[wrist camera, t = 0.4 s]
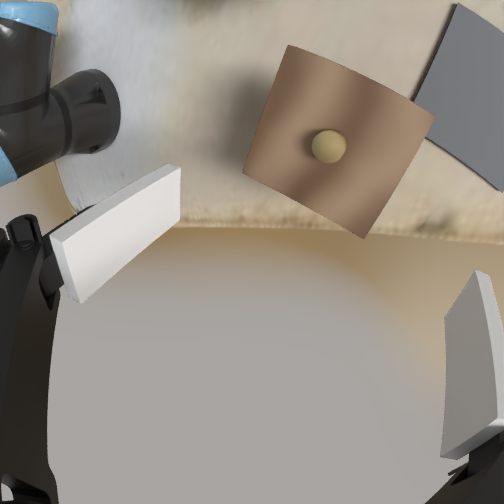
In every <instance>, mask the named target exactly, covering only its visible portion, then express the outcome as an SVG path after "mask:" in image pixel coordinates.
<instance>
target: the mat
mask: <svg viewBox="0 0 504 504" xmlns="http://www.w3.org/2000/svg"><path fill="white" fill-rule="evenodd" d="M414 103H416V104H417V105H419V106H421V107H422V108H424V109H425V110H427V111H429V112H430V113H432V114H433V115H434V116H435V119H434V121H433V123H432V125H431V127H430V129H429V130H428V132H427V134H426V136H425V137H427V138H428V139H430V140H432V141H433V142H435V143H436V144H438V145H439V146H441V147H442V148H444V149H445V150H447V151H448V152H449V153H451V154H452V155H454V156H455V157H457V158H458V159H459V160H461V161H462V162H464V163H465V164H466V165H468V166H469V167H470V168H472V169H473V170H474V171H476V172H477V173H478V174H480V175H481V176H482V177H483V178H485V179H486V180H487V181H488V182H490V183H491V184H492V185H493V186H495V187H496V188H497V189H498V190H499V191H501V192H502V193H503V191H504V33H503V32H502V31H500V30H499V29H498V28H496V27H495V26H493V25H492V24H491V23H489V22H488V21H486V20H485V19H483V18H482V17H480V16H479V15H477V14H476V13H474V12H473V11H471V10H469V9H468V8H466V7H465V6H463V5H461V4H460V3H458V4H457V6H456V8H455V11H454V13H453V16H452V18H451V21H450V23H449V26H448V28H447V30H446V33H445V35H444V37H443V40H442V42H441V44H440V46H439V49H438V51H437V53H436V55H435V58H434V60H433V62H432V64H431V66H430V68H429V71H428V73H427V75H426V77H425V79H424V81H423V83H422V85H421V88H420V90H419V92H418V94H417V96H416V98H415V100H414Z"/></svg>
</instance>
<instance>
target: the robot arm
mask: <svg viewBox="0 0 504 504" xmlns="http://www.w3.org/2000/svg"><path fill="white" fill-rule="evenodd" d="M58 16H59V11H58V8H57V6H56V5H54V4H52V3H47V2H33V1H16V2H15V1H14V2H0V187H1V186H3V185H5V184H8V183H10V182H13V181H16V180H17V179H18V178H20V177H21V176H24V175H26V174H27V173H29V172H31V171H33V170H35V169H37V168H39V167H41V166H43V165H45V164H47V163H49V162H51V161H54V160H56V159H58V158H60V157H62V156H64V155H74V154H92V153H96V152H99V151H101V150H103V149H105V148H107V147H109V146H110V145H111V144H112V142H113V141H114V139H115V137H116V135H117V133H118V129H119V125H120V103H119V98H118V95H117V92H116V89H115V87H114V85H113V83H112V81H111V80H110V79H109V77H108V76H107V75H106V74H104V73H103V72H101V71H99V70H96V69H89V70H84V71H80V72H77V73H75V74H73V75H72V76H70V77H68V78H67V79H65V80H64V81H62V82H61V83H59V84H58V85H56V86H54V87H53V88H51V89H50V80H51V69H52V60H53V53H54V46H55V40H56V36H57V23H58ZM180 174H181V167H177V166H174V165H170V164H166V165H164V166H162V167H160V168H158V169H156V170H154V171H153V172H151V173H149V174H147V175H145V176H143V177H142V178H140V179H138V180H136V181H135V182H133V183H131V184H129V185H128V186H126V187H124V188H122V189H121V190H119V191H117V192H116V193H114V194H112V195H110V196H109V197H107V198H106V199H104V200H102V201H101V202H99V203H97V204H95V205H92V206H89V207H87V208H85V209H83V210H82V211H80V212H79V213H77V215H76V214H75V215H74V216H72V217H71V218H70V219H69V220H66V221H65V222H64V223H62V224H60V225H59V226H57V227H56V228H54V229H53V230H51V231H50V232H48V233H47V234H45V235H44V236H43V237H42V235H41V231H40V227H39V224H38V220H37V218H36V216H34V215H32V214H25V215H21V216H19V217H16V218H14V219H13V220H11V221H10V222H9V223H8V225H6V229H7V232H8V235H9V238H10V240H8V238H7V235H6V232H5V230H4V229H2V228H0V504H59V502H58V493H57V485H56V481H55V478H54V475H53V473H52V471H51V469H50V467H49V464H48V455H47V409H48V389H49V375H50V364H51V354H52V346H53V339H54V331H55V325H56V318H57V312H58V307H59V301H60V291H59V288H60V287H61V286H62V285H65V288H66V291H67V294H68V296H69V297H71V298H72V299H74V300H75V301H77V302H78V303H80V304H82V303H83V302H84V301H85V300H86V299H87V298H89V297H90V296H91V295H92V294H93V293H94V292H95V291H96V290H97V289H98V288H100V287H101V286H102V285H103V284H104V283H105V282H106V281H107V280H109V279H110V278H111V277H112V276H113V275H114V274H115V273H117V272H118V271H119V270H120V269H121V268H122V267H124V266H125V265H126V264H127V263H128V262H129V261H130V260H132V259H133V258H134V257H135V256H137V255H138V254H139V253H140V252H141V251H142V250H143V249H145V248H146V247H147V246H148V245H149V244H151V243H152V242H153V241H154V240H156V239H157V238H158V237H159V236H161V235H162V234H163V233H164V232H165V231H167V230H168V229H169V228H170V227H172V226H173V225H174V224H175V223H177V222H178V221H179V220H180ZM444 320H445V340H446V391H445V411H444V425H443V435H442V444H441V452H440V457H444V458H449V459H455V460H458V459H460V458H462V457H463V456H465V455H467V454H468V453H469V462H467V463H465V464H464V465H462V466H460V467H458V468H456V469H454V470H452V471H451V472H450V473H448V475H449V476H450V475H452V474H454V473H455V474H454V475H453V476H452V477H451V479H450V480H449V481H448V482H447V483H446V484H445V485H444V486H443V487H442V488H441V489H440V490H439V491H438V492H437V493H436V494H435V495H434V496H433V497H432V498H430V499H429V500H428V501H427V502H426V503H425V504H504V331H503V327H502V322H501V318H500V314H499V310H498V306H497V302H496V298H495V294H494V291H493V287H492V284H491V280H490V277H489V275H486V274H484V273H482V272H480V271H477V270H475V271H474V272H473V274H472V276H471V277H470V279H469V281H468V282H467V284H466V285H465V287H464V289H463V290H462V292H461V293H460V295H459V296H458V298H457V299H456V301H455V302H454V304H453V305H452V307H451V308H450V310H449V311H448V313H447V314H446V316H445V318H444ZM1 483H3V484H5V485H7V486H8V487H9V488H10V489H11V491H12V494H13V498H14V500H13V501H2V495H1Z"/></svg>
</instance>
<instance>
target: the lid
mask: <svg viewBox="0 0 504 504" xmlns="http://www.w3.org/2000/svg"><path fill="white" fill-rule="evenodd" d="M434 119H435V116H434V115H433V114H432V113H430V112H429V111H427V110H425V109H424V108H422V107H421V106H419V105H417V104H416V103H414V102H412V101H410V100H409V99H407V98H405V97H403V96H402V95H400V94H398V93H396V92H395V91H393V90H391V89H389V88H387V87H385V86H383V85H381V84H380V83H378V82H376V81H374V80H372V79H370V78H368V77H366V76H364V75H361V74H359V73H357V72H355V71H353V70H351V69H349V68H347V67H344V66H342V65H340V64H338V63H335V62H333V61H331V60H328V59H326V58H323V57H321V56H318V55H316V54H313V53H311V52H308V51H306V50H303V49H300V48H298V47H295V46H291V45H288V46H287V48H286V51H285V54H284V56H283V59H282V62H281V64H280V67H279V70H278V72H277V75H276V78H275V81H274V83H273V86H272V89H271V92H270V94H269V97H268V100H267V103H266V105H265V108H264V111H263V114H262V117H261V119H260V122H259V125H258V128H257V131H256V134H255V137H254V139H253V142H252V145H251V148H250V151H249V154H248V157H247V160H246V163H245V166H244V169H243V172H242V173H243V174H245V175H247V176H249V177H251V178H253V179H255V180H257V181H259V182H261V183H263V184H265V185H267V186H269V187H270V188H272V189H274V190H276V191H278V192H280V193H282V194H284V195H286V196H288V197H289V198H291V199H293V200H295V201H297V202H299V203H301V204H302V205H304V206H306V207H308V208H310V209H311V210H313V211H315V212H317V213H319V214H320V215H322V216H324V217H326V218H328V219H329V220H331V221H333V222H335V223H336V224H338V225H340V226H342V227H343V228H345V229H347V230H349V231H350V232H352V233H354V234H356V235H357V236H359V237H361V238H363V239H364V238H365V237H366V235H367V233H368V232H369V230H370V229H371V227H372V226H373V224H374V223H375V221H376V219H377V218H378V216H379V215H380V213H381V211H382V210H383V208H384V207H385V205H386V203H387V202H388V200H389V199H390V197H391V195H392V194H393V192H394V190H395V189H396V187H397V185H398V184H399V182H400V180H401V178H402V177H403V175H404V173H405V172H406V170H407V168H408V166H409V165H410V163H411V161H412V159H413V158H414V156H415V154H416V152H417V151H418V149H419V147H420V145H421V143H422V142H423V140H424V138H425V136H426V134H427V132H428V130H429V129H430V127H431V125H432V123H433V121H434Z"/></svg>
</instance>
